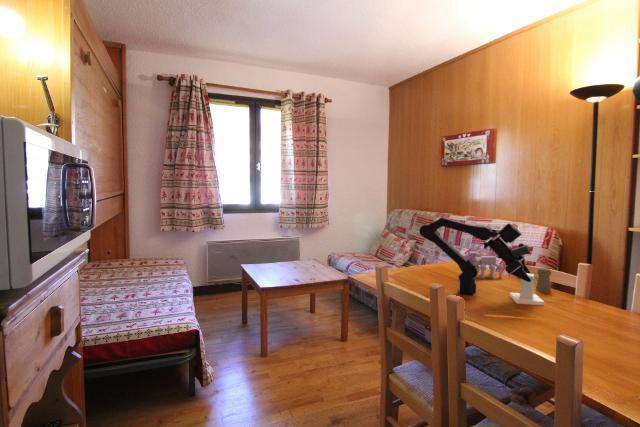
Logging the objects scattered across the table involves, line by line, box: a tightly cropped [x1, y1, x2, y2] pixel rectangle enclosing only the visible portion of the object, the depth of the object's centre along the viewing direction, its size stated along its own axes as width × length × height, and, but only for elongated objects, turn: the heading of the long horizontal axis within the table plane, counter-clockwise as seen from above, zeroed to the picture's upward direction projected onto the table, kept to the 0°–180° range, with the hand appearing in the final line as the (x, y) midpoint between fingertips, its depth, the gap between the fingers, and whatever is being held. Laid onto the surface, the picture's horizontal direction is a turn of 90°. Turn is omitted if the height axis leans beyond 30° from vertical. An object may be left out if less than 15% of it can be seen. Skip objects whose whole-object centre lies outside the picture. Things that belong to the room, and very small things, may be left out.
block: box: [519, 273, 535, 299], centre depth 145 cm, size 4×4×10 cm
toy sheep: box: [462, 251, 504, 279], centre depth 186 cm, size 20×11×14 cm, turn 95°
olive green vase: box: [535, 267, 552, 294], centre depth 158 cm, size 6×6×11 cm
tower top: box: [509, 292, 545, 306], centre depth 146 cm, size 10×10×2 cm
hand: (530, 278), depth 144 cm, fingers open, 9 cm apart
